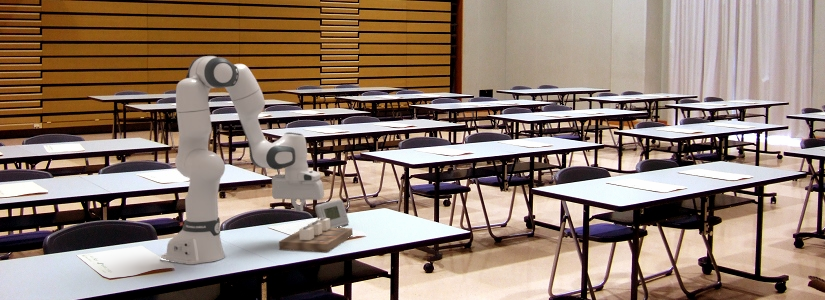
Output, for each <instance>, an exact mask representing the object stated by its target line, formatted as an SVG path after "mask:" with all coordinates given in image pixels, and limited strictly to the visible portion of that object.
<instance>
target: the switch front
mask: <svg viewBox="0 0 825 300" xmlns="http://www.w3.org/2000/svg"><path fill="white" fill-rule="evenodd" d="M298 231H299V232H300V240H311V239H313V238H314V227H310V226H309V225H308V224H307V225H306V226H303V227H301V228H299V230H298Z"/></svg>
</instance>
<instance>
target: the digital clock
mask: <svg viewBox="0 0 825 300" xmlns="http://www.w3.org/2000/svg"><path fill="white" fill-rule="evenodd" d="M314 211H315V213H316V216H317V220H318V219H319V218H323V217H326V218H330V227H332V228H337V227H339V228H341V227H340V226H343V227H344V226H347V225H349V223H350V221H349V217H348V214H347V211H346V207H345V204H344V201H343V200H342V199H341V198H339V199H334V200H330V201H326V202H321V203H319V204H316V205H315V207H314Z"/></svg>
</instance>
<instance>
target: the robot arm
mask: <svg viewBox="0 0 825 300" xmlns="http://www.w3.org/2000/svg"><path fill="white" fill-rule="evenodd" d="M211 89H225V90H226V92H227V93H228V95H229V97H230V99H231V102H232V105H233V106H234V108H235V111H236V113H237V116H238V118H239V122H240V124H241V127H242V130H243V132H244V134H245V138H246V141H247V142H248V149H249V159H250V161H251V163H252V164H253V165H254V166H255V167H256V168H261V169H268V170H275V171H276V170H277V171H278V170H282V169H284V174H274V175H273V176H272V177H271V184H272V186H271V187H272V189H271V195H272V198H273V199H274V200H290V203H291V204H292V206H293V207H294V209H293V210H294V211H295V212H303V211H304V205H305V203H306V200H307V201H308V200H309V201H310V200H311V201H319V200H322V199H323V198H324V197H325V190H324V184H323V183H324V182H323V181H322V180H321V177H322V175H321V173H320V172H319V171H315V170H314V169H313V170H312V169H310V168H309V165H308V162H307V158H308V148H307V147H308V146H307V140H306V137H305V135H303V134H302V133H299V132H285V133H283V135H282V136H281V137H280V138H278V139H277V140H275V141H274V142H270V141H268V140H267V139H266V138H265V135H264V133H263V130H262V127H261V125H260V121H259V115H260V114H261V113H262V112H263V110H264V108H265V105H266V101H265V98H264V94H263V91H262V89H261V87H260V85H259V83H258V80H257V79H256V77H255V76H254V74H253V73H252V71H251V70H250V68H249V67H248V66H247V65H245V64H243V63H236V64H233V63H232V62H231V61H229V60H228V59H226V58H224V57H220V56H218V57H217V56H215V55H207V56H205V55H204V56H199V57H196V58H195V59H193V60H192V61H191V63H190V65H189V67H188V72H187V73H186V77H185V78H184V79H182V80H180V81H179V82H178V83H177V84H176V87H175V91H176V92H175V107H176V108H175V109H176V116H177V125H178V148H177V155H176V156H175V159H174V165H175V168H176V169H177V171H178V172H179V173H180V174H181V175H182V176H183V177H184V178H187V179H189V186H188V191H187V194H186V196H185V203H184V204H185V217H186V218H185V219H184V220H182V221H181V222H180V223H179V224H180V225H179V226H180V227H182V229H181V230H180V231H179V232H178V233H176V234H175V236H173V237H172V238H171V239H170V240H169V241H168V243H167V245H166V246H167V247H166V252H165V253H164V254H162V255H161V256H160V257H161V258H163V259H166V260H169V261H174V262H173V263H176V262H180V263H179V264H183V263H186V264H185V265H195V264H201V263H210V262H215V261H219V260H222V259H224V258H225V257H226V255H225V252H224V248H223V244H222V239H221V219H220V217H219V205H218V204H219V203H218V202H219V201H218V198H219V197H218V196H219V195H218V194H219V190H220V183H221V178H222V177H223V175H224V173H225V171H226V170H225V169H226V166H225V165H226V163H225V161H224V159H222V157H221V156H220V155H219V154H217V153H215V152H213V151H211V150H209V142H210V141H209V139H210V137H211V136H210V135H211V133H212V132H213V131H212V129H213V128H212V120H211V112H210V104H209V103H210V102H209V96H210V95H209V94H210V91H211ZM297 200H299V203H300V205H298V203H297ZM169 261H168V262H169Z"/></svg>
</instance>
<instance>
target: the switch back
mask: <svg viewBox="0 0 825 300" xmlns="http://www.w3.org/2000/svg"><path fill="white" fill-rule="evenodd" d="M315 221H318V223H322V231H327V230H329V229H330V218H326V217H323V218H319V219H318V218H317V219H316V220H315Z"/></svg>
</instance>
